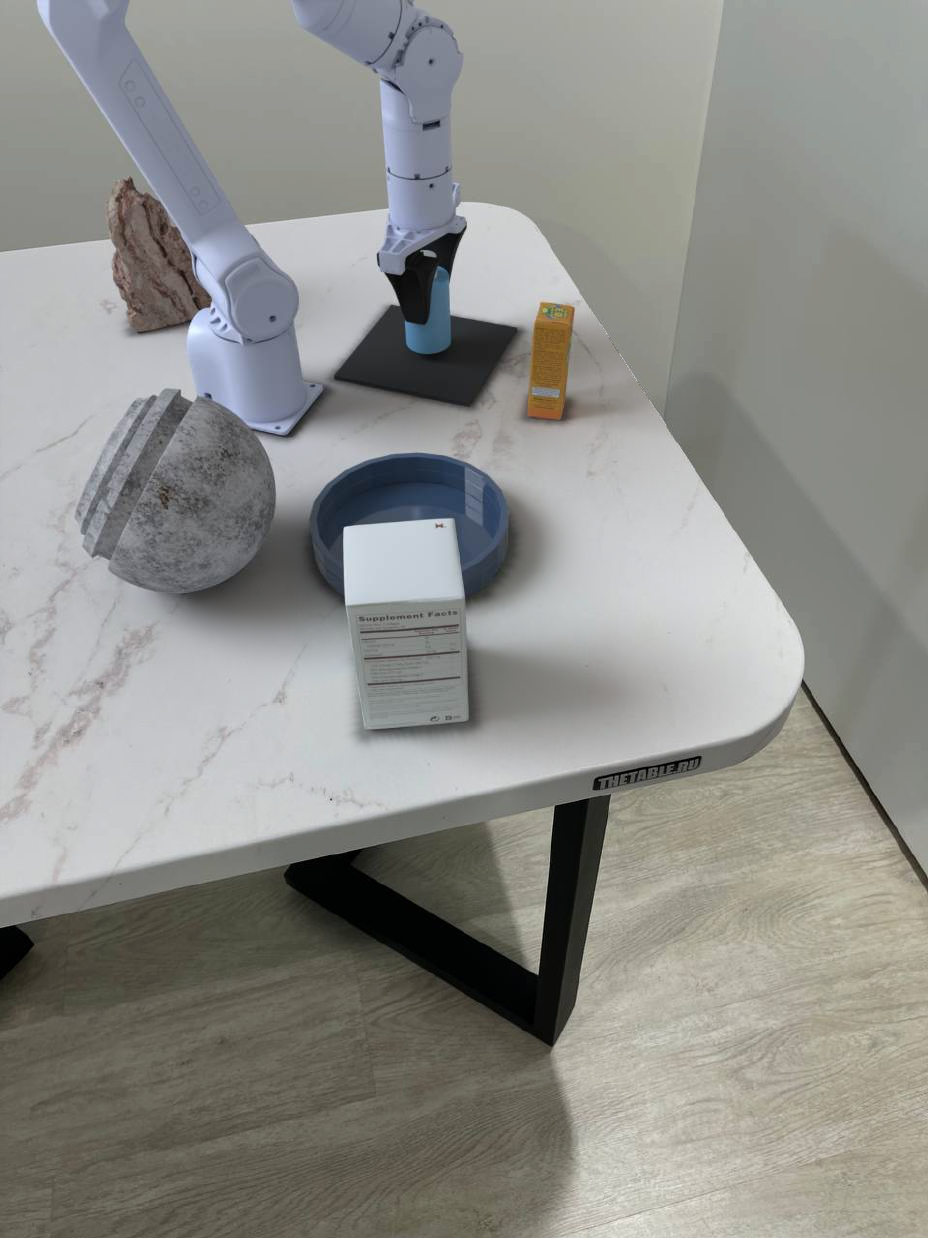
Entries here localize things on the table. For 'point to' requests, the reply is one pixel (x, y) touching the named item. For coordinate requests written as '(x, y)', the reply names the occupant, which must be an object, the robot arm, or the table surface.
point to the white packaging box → (407, 622)
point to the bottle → (433, 318)
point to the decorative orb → (178, 495)
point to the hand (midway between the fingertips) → (426, 308)
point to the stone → (151, 261)
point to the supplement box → (550, 360)
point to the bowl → (414, 510)
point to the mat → (428, 359)
